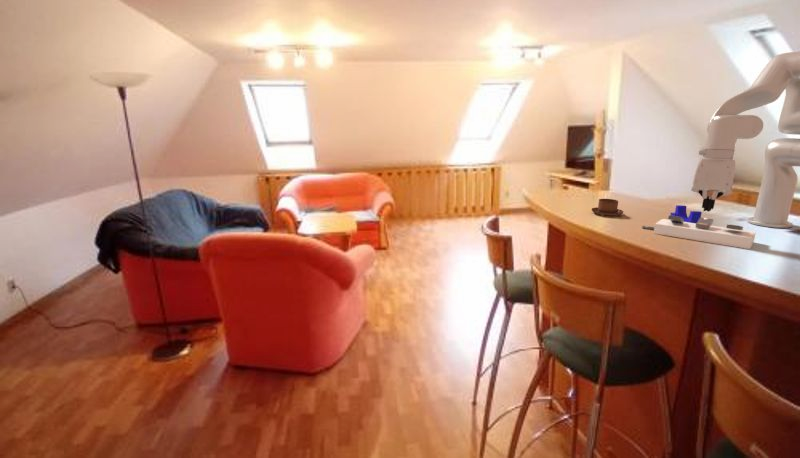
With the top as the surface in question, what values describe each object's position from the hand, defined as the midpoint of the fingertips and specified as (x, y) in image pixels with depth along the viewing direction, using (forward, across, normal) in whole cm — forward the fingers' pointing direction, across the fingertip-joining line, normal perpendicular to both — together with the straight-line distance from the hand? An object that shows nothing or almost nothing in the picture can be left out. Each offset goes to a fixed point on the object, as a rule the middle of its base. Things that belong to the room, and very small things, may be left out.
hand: (707, 210), depth 135 cm
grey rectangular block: (+4, +8, -2) cm, 9 cm away
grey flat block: (+4, -8, -2) cm, 9 cm away
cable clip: (+9, -8, +17) cm, 21 cm away
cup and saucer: (+10, -35, +13) cm, 39 cm away
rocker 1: (+4, 0, -2) cm, 4 cm away
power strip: (+9, -2, -2) cm, 9 cm away
